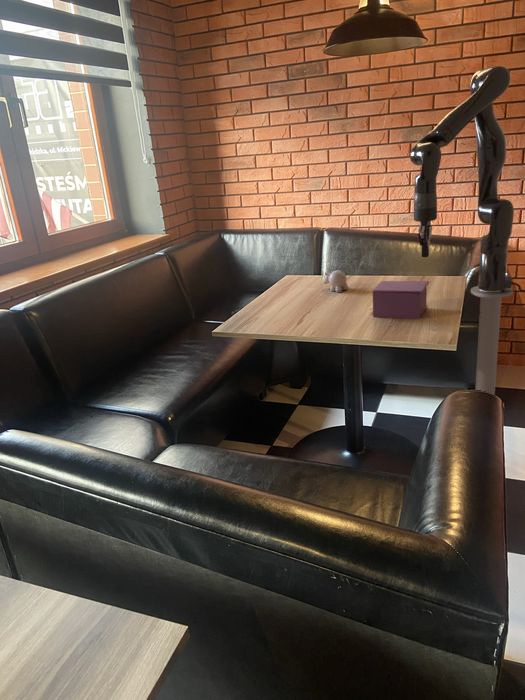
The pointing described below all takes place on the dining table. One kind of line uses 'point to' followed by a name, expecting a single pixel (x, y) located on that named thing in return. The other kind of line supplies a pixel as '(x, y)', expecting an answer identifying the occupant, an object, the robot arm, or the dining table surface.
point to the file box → (399, 304)
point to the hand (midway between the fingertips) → (425, 256)
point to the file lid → (401, 286)
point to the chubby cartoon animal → (336, 280)
